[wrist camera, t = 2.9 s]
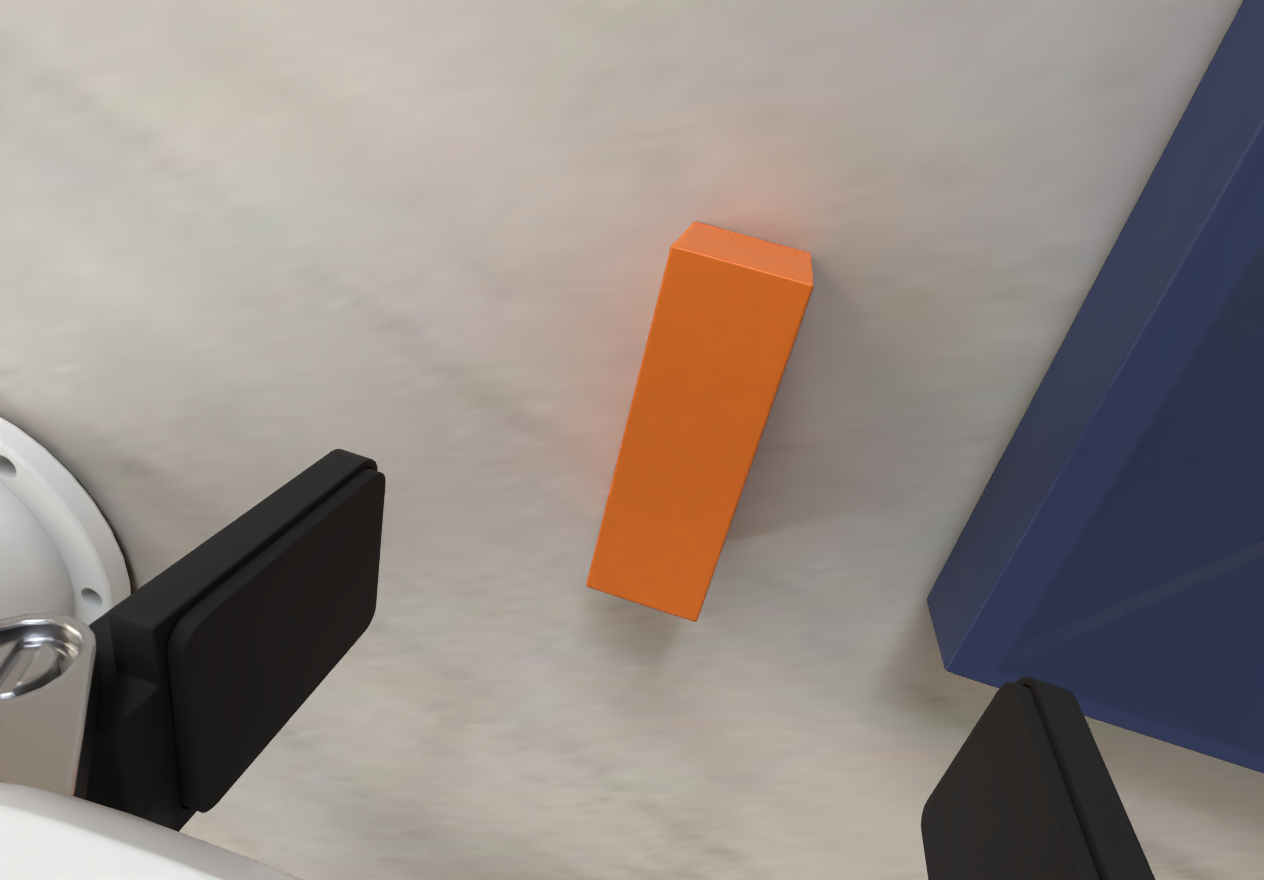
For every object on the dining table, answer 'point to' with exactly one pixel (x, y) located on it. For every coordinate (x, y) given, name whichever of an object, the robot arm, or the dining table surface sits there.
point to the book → (1144, 460)
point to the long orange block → (698, 414)
